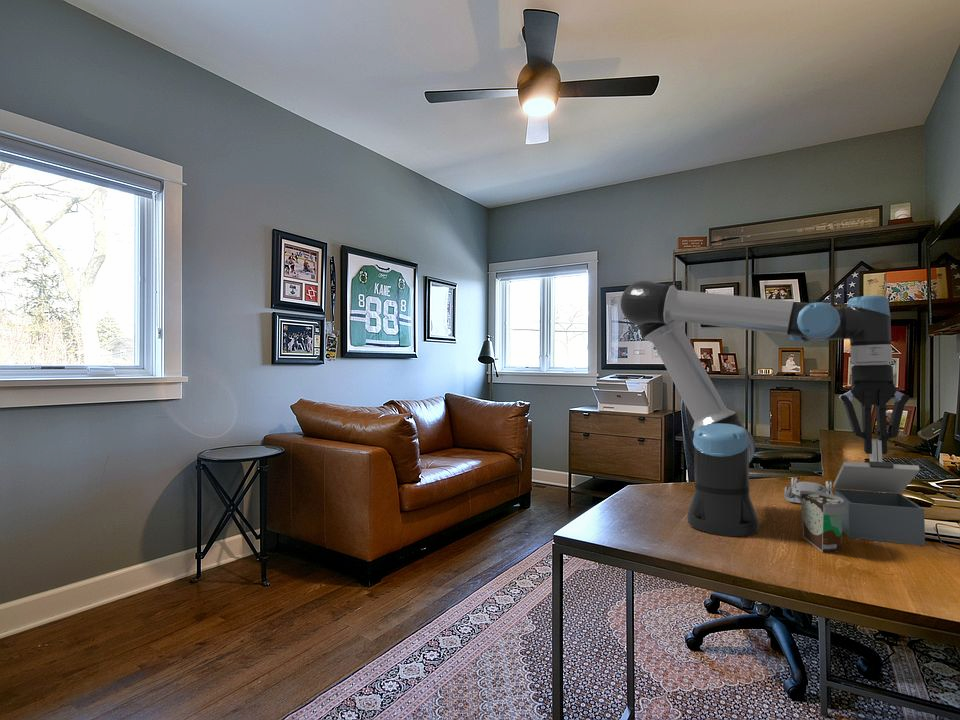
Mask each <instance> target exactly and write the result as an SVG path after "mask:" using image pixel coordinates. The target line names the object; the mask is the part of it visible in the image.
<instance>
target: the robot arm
mask: <svg viewBox="0 0 960 720" xmlns="http://www.w3.org/2000/svg"><path fill="white" fill-rule="evenodd" d="M620 309H621V313H622V314H623V316H624V318H625V319H626V320H628V321H629V322H631V323H633V324H635V325H636V326H637V328H638V330H639V331H640V334H641V335H642V337H643V340H645V341H648V342H650V343H652V344H653V346H654V348H655V350H656V352H657V353H658V356H659V357H660V360H661V361H662V363H663V365H664V367H665V368H666V370H667V373H668V375H669V376H670V378H671V379H672V380H671V381H672V382H673V383H674V385H675V387H676V390H677V391H678V393H679V395H680V398H681V399H682V400H683V402H684V404H685V407H686V408H687V411H688V412H689V414H690V416H691V418H692V420H693V421H694V423H693V426H692V429H691V430H692V432H693V438H692V444H693V455H694V457H693V461H694V463H693V466H694V468H693V469H694V493H693V496H692V499H691V502H690V504H689V508H688V511H687V524H688V523H689V524H690V525H691V526H693V527H694V528H693V527H692V528H693V529H695V528H697V529H696V530H698V529H699V530H698V531H700V530H702V531H701V532H704V531H705V533H708V534H712V533H713V535H719V536H729V537H730V536H731V537H732V536H733V537H742V536H744V537H745V536H751V535H755V534H756V533H758V532H759V530H760V529H759V527H760V526H759V523H760V522H759V518H758V516H757V512H756V510H755V508H754V505H753V502H752V499H751V496H750V463H751V462H752V460H753V459H754V456H755V454H756V445H755V439H754V438H753V435H752V434H751V432H749V430H748V429H746V428H745V426H744V424H743V422H742V421H741V420H740V418H739V416H738V413H737V412H736V411H734V410H733V409H732V410H731V409H728V408H727V406H726V405H725V403H724V401H723V400H722V399H723V398H722V397H721V396H720V393H719V392H718V389H716V387H715V385H714V383H713V382H712V379H711V378H710V375H709V374H708V372H707V371H706V369H705V367H704V365H703V363H702V362H701V360H700V358H699V355H698V354H697V352H696V350H695V349H694V347H693V345H692V343H691V342H690V339H689V338H688V336H687V334H686V332H685V331H684V329H683V326H684V323H689V324H690V323H691V324H696V325H697V324H698V325H706V326H714V327H722V328H732V329H739V330H746V331H753V332H763V333H771V334H778V335H785V336H786V335H787V336H789V339H790V340H791V341H792V342H803V343H804V342H805V343H808V342H817V341H818V342H819V341H833V340H849V342H850V343H849V346H850V347H849V348H850V363H852V364H853V365H852V366H851V368H850V371H851V373H850V374H851V385H850V386H849V391H847V392H845V393H843V394H839V395H838V400H840V402H841V403H842V404H843V406H844V409H845V412H846V414H847V415H846V416H847V419H848V422H849V426H850V428H851V431H852V433H853V435H854V436H855V437H858V438H861V439H862V440H863V451H864V453H865V454H867V455H869V462H870V461H872V462H883V455H887V454H888V441H889V439H893V438H896V437H898V434H899V430H900V429H899V428H900V425H901V421H902V418H903V413H904V409H905V405H906V404H907V403H908V401H909V400H910V398H911V397H910V395H908V394H904V393H902V392H900V391H898V389H897V387H896V386H895V384H894V367H893V366H892V364H890V363H892V362H893V353H892V328H891V327H892V325H891V324H892V323H891V322H892V321H891V317H892V316H891V311H890V302H889V298H888V297H887V296H885V295H879V294H877V295H876V294H875V295H874V294H872V295H863V296H855V297H851V298H850V299H848V301H847V304H846V306H843V307H834V306H833V305H832V304H830V303H828V302H823V301H821V302H820V301H816V302H804V301H802V302H801V301H793V300H783V299H773V298H765V297H764V298H763V297H752V296H742V295H734V294H733V295H732V294H723V293H722V294H721V293H713V292H712V293H710V292H702V291H701V292H700V291H691V290H682V289H681V290H679V289H677V288H676V286H675V285H673V284H664V283H657V282H654V281H653V282H652V281H650V280H639V281H636V282H632V283H631V284H630V285H628V286H627V287H626V289H624V291H623V293H622V295H621V299H620ZM853 397H854V398H855V399H856V400H857V401H858V403H859V404H860V407H861V415H862V416H861V423H862V424H861V426H862V429H861V426H860V422H859V420H858V419H859V418H858V417H857V413H856V410H855V407H854V404H853V403H852V402H853ZM892 398H893V400H894V403H893V408H892V411H891V416H890V419H889V424H887V412H886V411H887V403H889V401H890V400H891V399H892ZM873 406H874V407H875V414H876V429H877V431H876V433H877V438H876V439H875V438H873V429H872V428H873V427H872V426H873V425H872V423H873V422H872V418H873V417H872V410H873V409H872V408H873ZM689 524H688V525H689ZM690 525H689V526H690ZM691 526H690V527H691Z"/></svg>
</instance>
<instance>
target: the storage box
mask: <svg viewBox="0 0 960 720" xmlns="http://www.w3.org/2000/svg"><path fill="white" fill-rule="evenodd" d="M833 489H834V488H833ZM833 495H835V496H838V497H840V498H842V499H843V500H844V502H845V504H846V507H847V513H845V514H843V529H842V532H844V533H845V534H846V536H847V537H848V538H849V539H855V540H856V539H857V540H858V539H859V540H867V541H878V542H887V543H897V544H904V545H905V544H906V545H916V546H924V545H925V546H926V534H925V533H926V532H925V531H926V529H925V509H924V508H923V507H922V506H920V505H919V504H917V503H916V502H915V501H912V500H911V499H909V498H908V496H906V495H904V494H902V493H891V492H877V491H862V490H848V489H834V490H833Z"/></svg>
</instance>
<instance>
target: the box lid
mask: <svg viewBox="0 0 960 720" xmlns="http://www.w3.org/2000/svg"><path fill="white" fill-rule="evenodd" d="M919 472H920V465H917V464H916V465H913V464H898V463H897V464H894V462H889V461H888V462H887V461H882V462H872V461H870V460H869V462H858V461H857V462H856V461H855V462H854V461H843V462H842V464H841V467H840V468H839V471H838V474H837V476H836V478H835V480H834V482H833V483H832V489H842V490H856V491H871V492H885V493H899V494H902V493H903V492H904V491H905V490H906V489H907V487H908V485H909V484H910V483H911V482H912V481H913V480H914V478H915V477H916V475H917V474H918V473H919Z"/></svg>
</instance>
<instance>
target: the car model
mask: <svg viewBox="0 0 960 720" xmlns="http://www.w3.org/2000/svg"><path fill="white" fill-rule="evenodd" d="M790 480H791V481H790V485H791V486H785V487H784V494H783V495H784V500H785V501H786V502H788V503H792V504H798V505H801V500H800V491H813V492H821V493H826V494H831V495H834V491H833V482H832V481H830V480H827V481H825V486H823V485H822V484H820V483H818V482H812V481H798V480H799V479H798V478H797V477H791V479H790Z"/></svg>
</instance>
